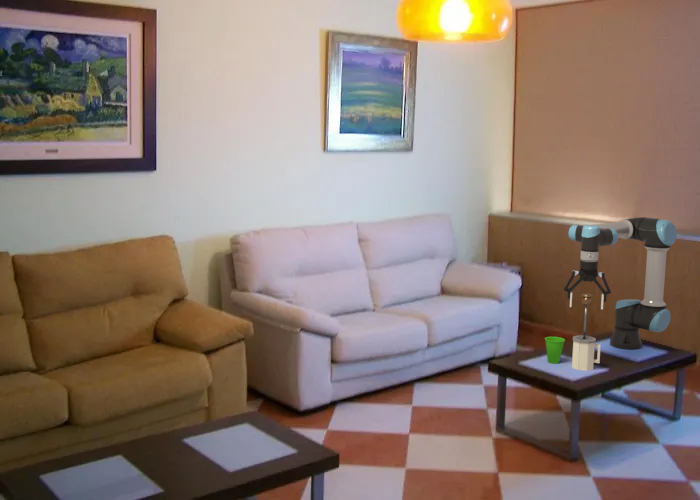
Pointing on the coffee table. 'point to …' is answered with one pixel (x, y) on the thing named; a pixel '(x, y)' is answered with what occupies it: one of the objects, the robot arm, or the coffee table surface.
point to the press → (584, 353)
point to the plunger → (586, 302)
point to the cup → (554, 349)
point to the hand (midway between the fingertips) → (586, 307)
